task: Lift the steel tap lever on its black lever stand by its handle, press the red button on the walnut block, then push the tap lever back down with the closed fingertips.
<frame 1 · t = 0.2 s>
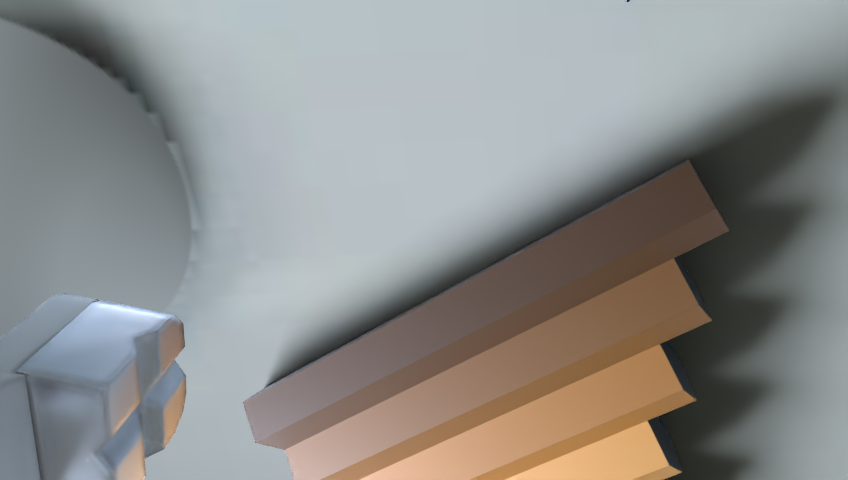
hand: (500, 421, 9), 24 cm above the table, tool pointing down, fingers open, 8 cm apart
pan flute: (573, 452, 39), on the table
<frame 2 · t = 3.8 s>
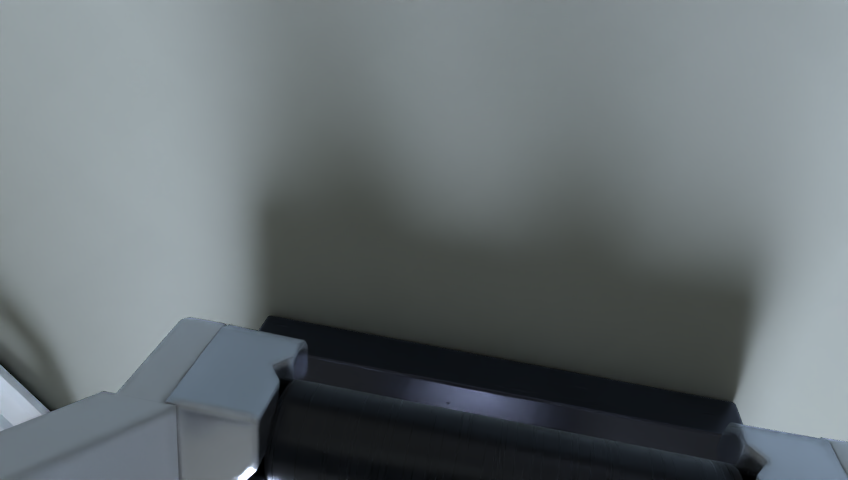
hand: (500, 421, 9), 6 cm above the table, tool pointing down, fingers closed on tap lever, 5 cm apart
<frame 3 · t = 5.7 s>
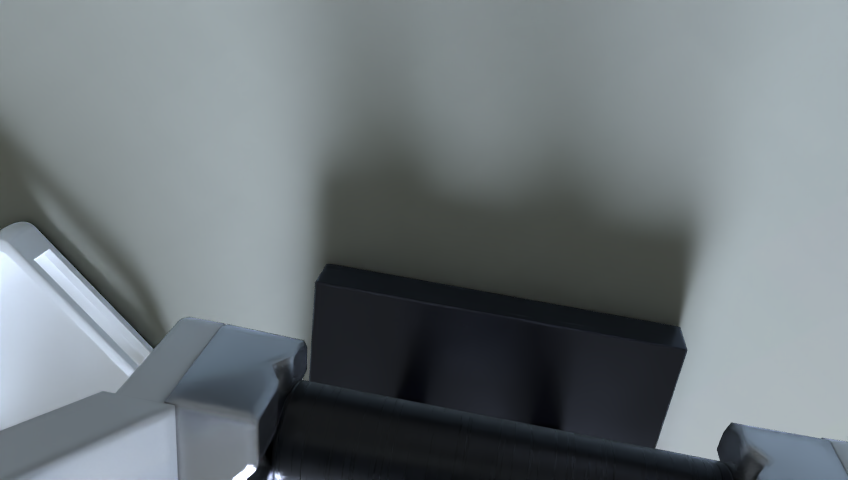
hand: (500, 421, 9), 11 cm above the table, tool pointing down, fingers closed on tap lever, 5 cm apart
black lever stand: (468, 457, 23), on the table
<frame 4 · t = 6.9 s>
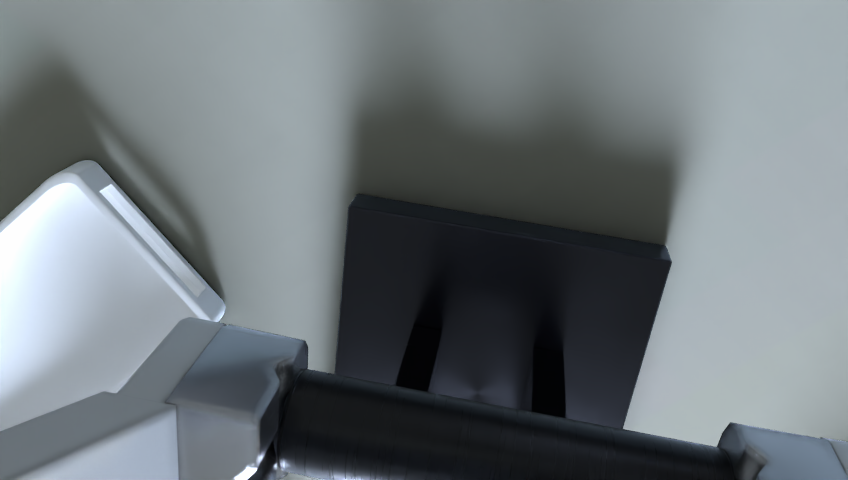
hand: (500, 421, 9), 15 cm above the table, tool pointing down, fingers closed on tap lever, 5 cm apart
black lever stand: (480, 372, 26), on the table
phone case: (40, 330, 28), on the table
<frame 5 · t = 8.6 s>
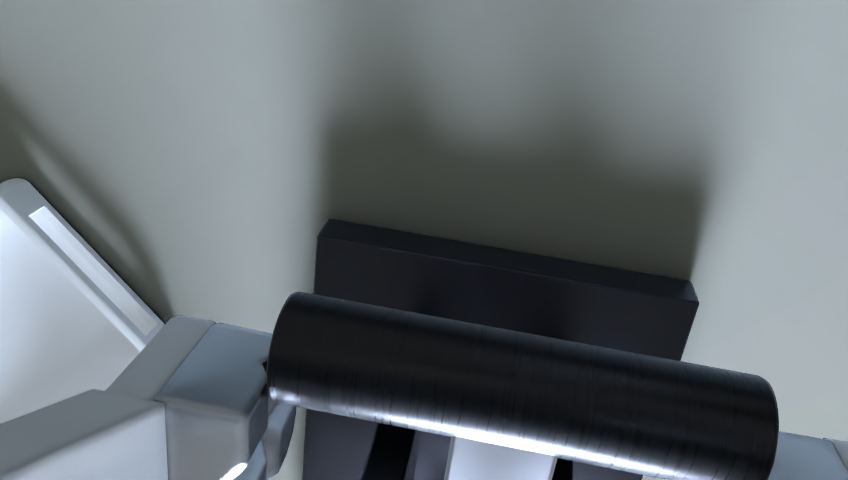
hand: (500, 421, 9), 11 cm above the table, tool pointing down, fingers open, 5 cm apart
black lever stand: (473, 421, 23), on the table
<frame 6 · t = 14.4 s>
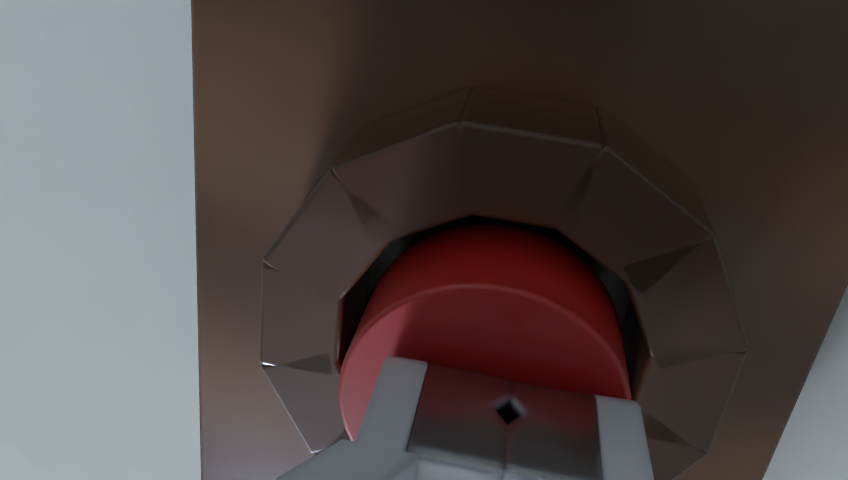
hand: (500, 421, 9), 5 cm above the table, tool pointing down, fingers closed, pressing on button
button: (485, 372, 10), point 4 cm above the table, slide at -0.1 cm, touching gripper
button block: (503, 236, 14), on the table
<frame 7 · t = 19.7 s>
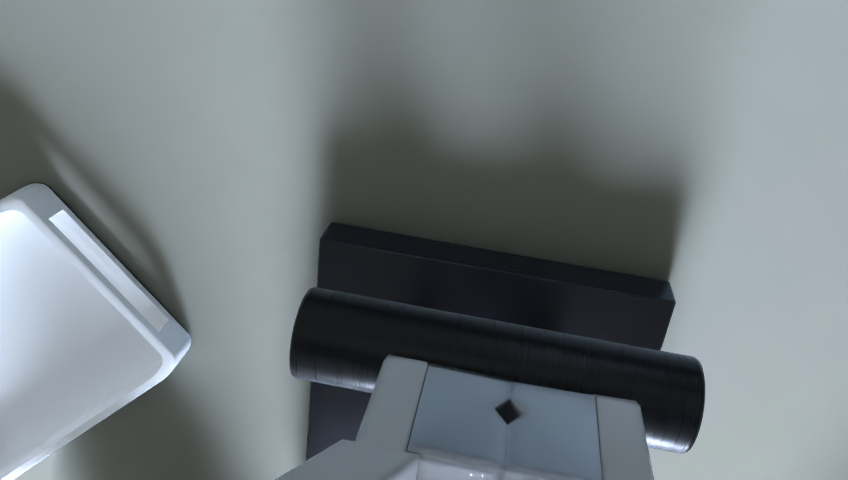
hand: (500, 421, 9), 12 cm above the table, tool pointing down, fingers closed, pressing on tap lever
black lever stand: (467, 411, 24), on the table
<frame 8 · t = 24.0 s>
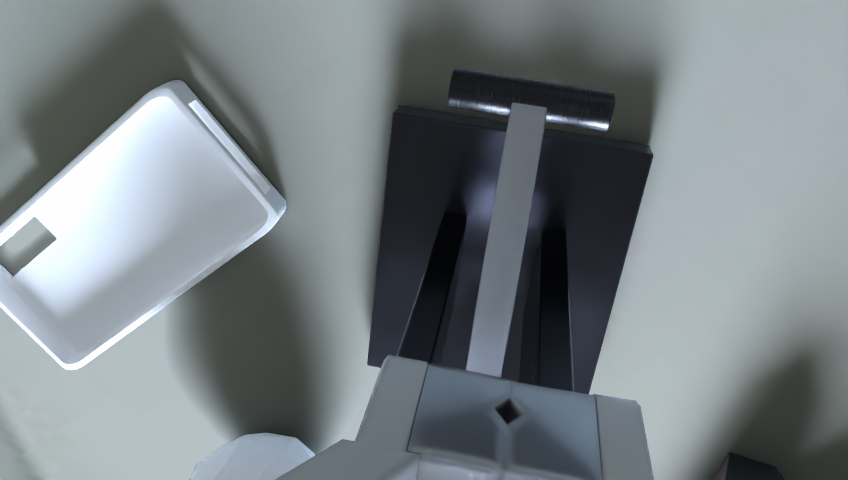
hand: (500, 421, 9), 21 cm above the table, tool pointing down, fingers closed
black lever stand: (497, 258, 31), on the table
tap lever: (500, 271, 22), point 9 cm above the table, hinge at -32.1°
geometric ball: (286, 459, 39), on the table
phone case: (128, 230, 34), on the table
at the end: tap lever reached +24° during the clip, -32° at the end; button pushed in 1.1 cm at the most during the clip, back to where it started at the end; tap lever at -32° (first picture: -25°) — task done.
